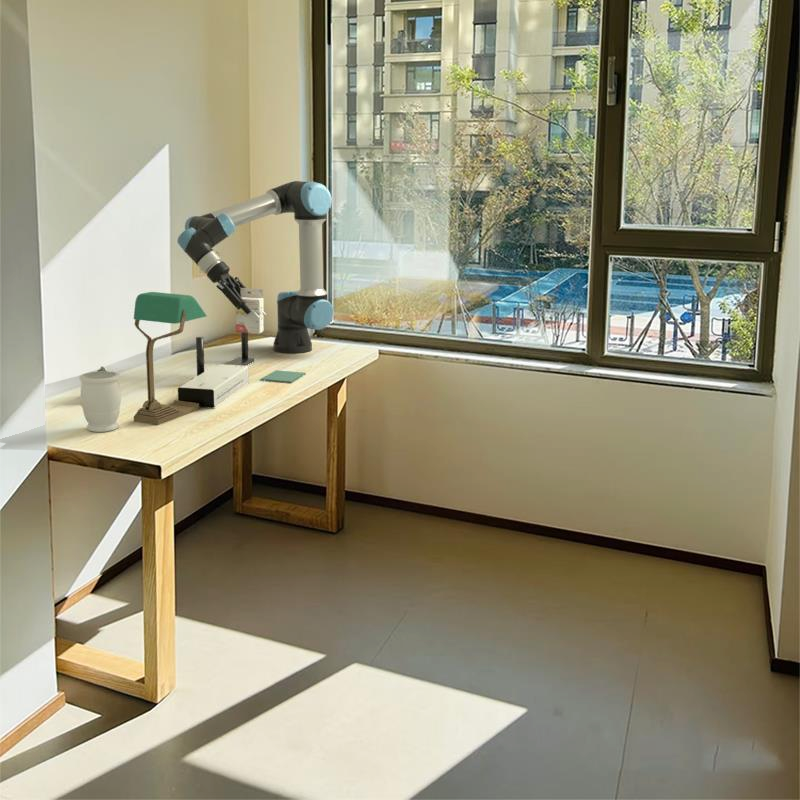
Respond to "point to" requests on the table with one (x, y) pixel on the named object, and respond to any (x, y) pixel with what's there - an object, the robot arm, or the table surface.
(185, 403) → the banker's lamp
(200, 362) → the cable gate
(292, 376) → the green mat
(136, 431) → the table surface
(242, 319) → the ink cartridge box
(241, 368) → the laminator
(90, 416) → the jar
